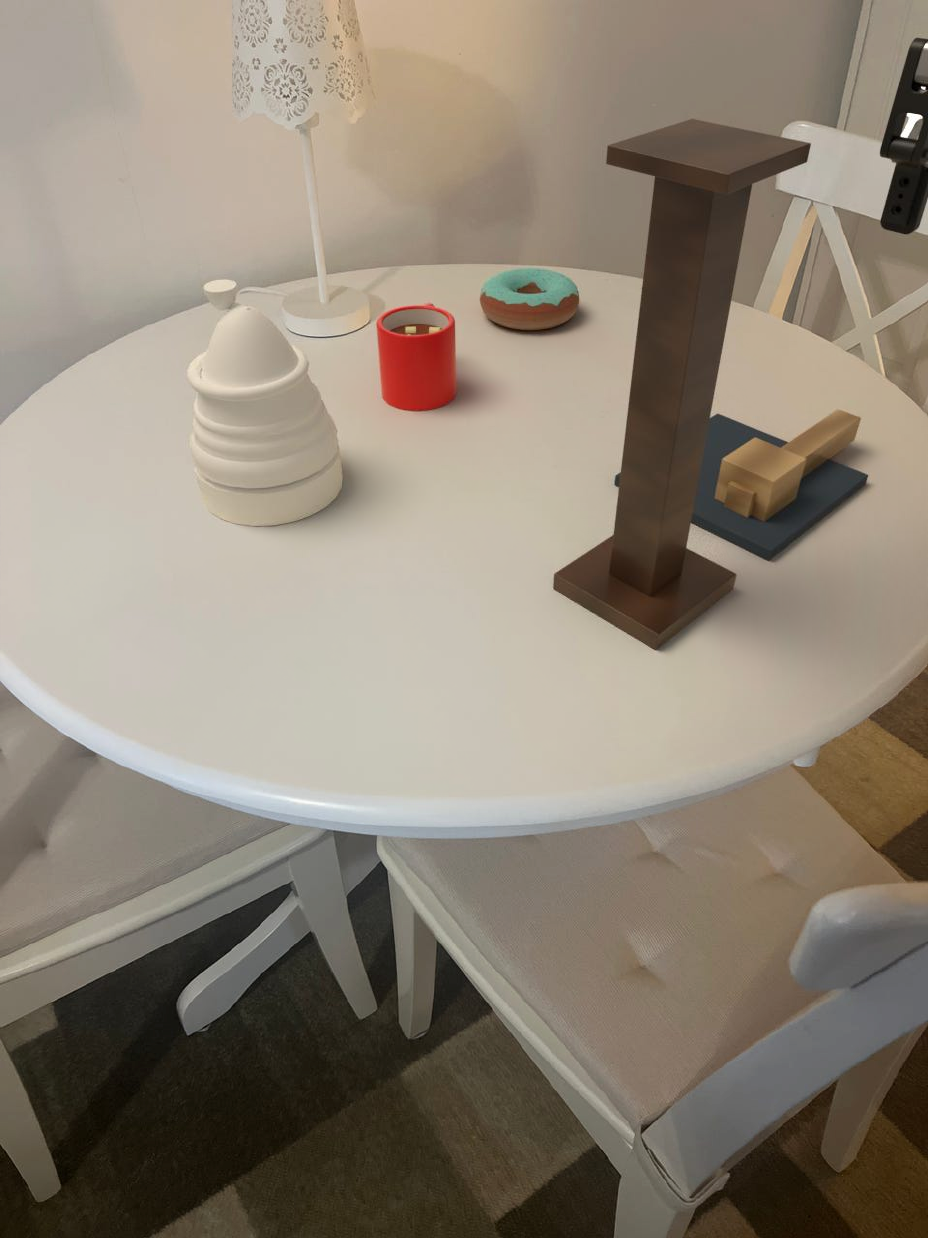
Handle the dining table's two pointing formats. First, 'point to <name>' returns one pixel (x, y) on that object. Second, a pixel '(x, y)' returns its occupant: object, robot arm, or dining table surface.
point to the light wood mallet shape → (780, 466)
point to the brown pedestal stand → (675, 373)
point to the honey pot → (259, 422)
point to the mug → (417, 357)
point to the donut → (529, 299)
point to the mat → (781, 529)
